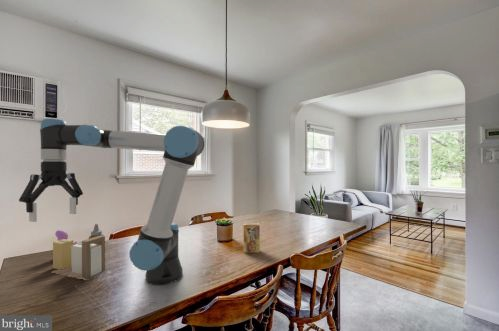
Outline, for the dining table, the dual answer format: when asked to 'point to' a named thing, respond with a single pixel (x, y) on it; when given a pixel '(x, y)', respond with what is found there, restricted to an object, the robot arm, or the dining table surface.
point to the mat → (98, 274)
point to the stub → (62, 254)
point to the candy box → (251, 237)
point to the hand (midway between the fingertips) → (54, 217)
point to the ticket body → (88, 257)
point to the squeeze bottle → (96, 232)
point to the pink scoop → (62, 235)
